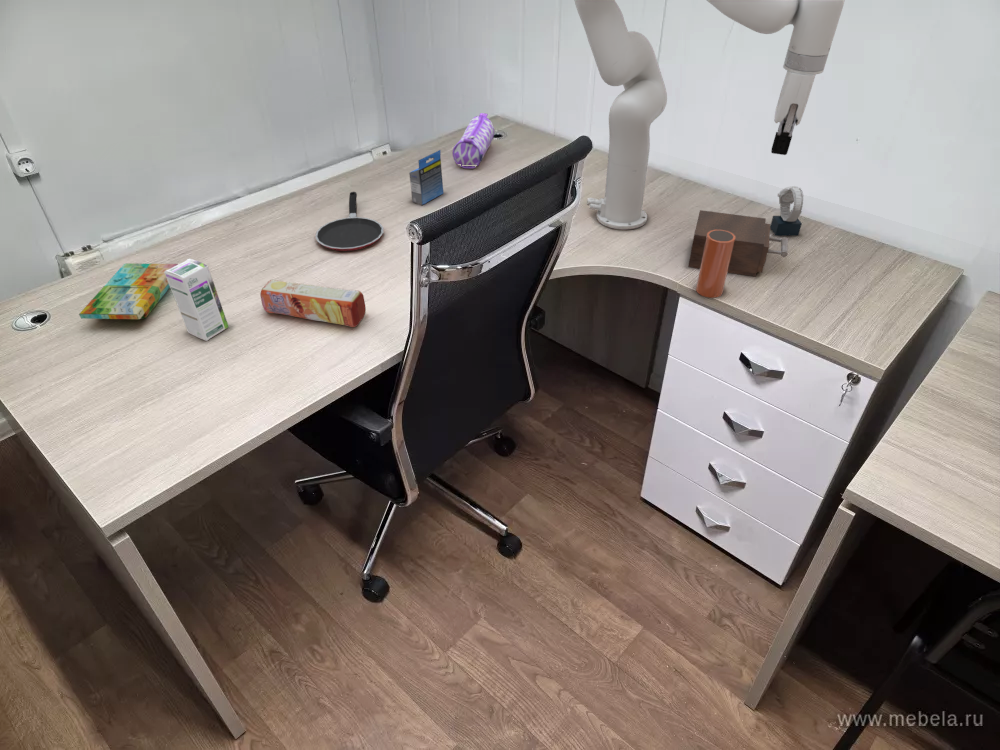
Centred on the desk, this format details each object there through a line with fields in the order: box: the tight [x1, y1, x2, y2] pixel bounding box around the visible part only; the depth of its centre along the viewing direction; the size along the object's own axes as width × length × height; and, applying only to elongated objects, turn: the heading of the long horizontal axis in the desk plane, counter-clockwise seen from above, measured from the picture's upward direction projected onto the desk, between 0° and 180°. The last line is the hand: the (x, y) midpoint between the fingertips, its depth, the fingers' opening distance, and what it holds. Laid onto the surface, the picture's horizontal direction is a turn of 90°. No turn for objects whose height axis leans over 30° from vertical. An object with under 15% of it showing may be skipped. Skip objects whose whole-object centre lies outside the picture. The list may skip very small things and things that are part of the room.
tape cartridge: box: [408, 149, 444, 206], centre depth 179 cm, size 9×4×12 cm, turn 144°
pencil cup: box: [695, 230, 735, 299], centre depth 141 cm, size 6×6×13 cm
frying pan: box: [314, 191, 384, 252], centre depth 169 cm, size 28×16×3 cm, turn 8°
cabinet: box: [687, 209, 767, 278], centre depth 153 cm, size 15×13×8 cm
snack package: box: [259, 279, 367, 328], centre depth 137 cm, size 21×7×7 cm, turn 73°
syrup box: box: [164, 258, 230, 342], centre depth 131 cm, size 6×6×14 cm
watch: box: [770, 185, 804, 237], centre depth 162 cm, size 6×8×11 cm
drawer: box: [757, 222, 789, 274], centre depth 152 cm, size 18×11×6 cm, turn 72°
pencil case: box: [452, 112, 495, 170], centre depth 202 cm, size 22×9×10 cm, turn 170°
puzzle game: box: [78, 262, 179, 320], centre depth 142 cm, size 12×5×20 cm
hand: (778, 152), depth 144 cm, fingers closed
